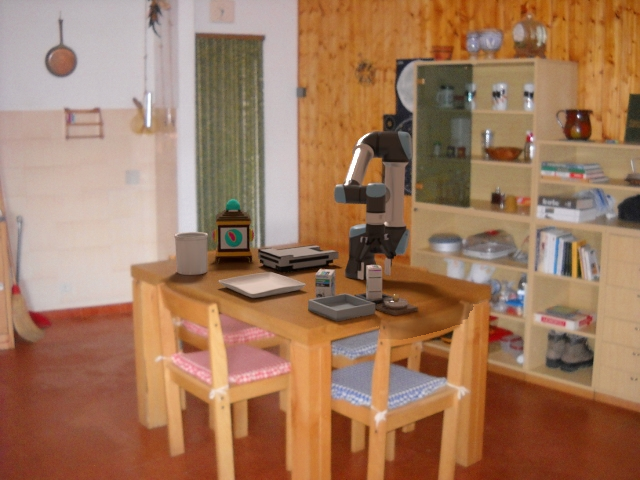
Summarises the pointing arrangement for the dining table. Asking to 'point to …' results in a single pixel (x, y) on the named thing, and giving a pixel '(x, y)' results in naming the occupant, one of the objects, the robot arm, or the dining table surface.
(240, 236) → the decorative lantern
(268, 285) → the square plate
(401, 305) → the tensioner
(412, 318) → the dining table surface
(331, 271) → the light bulb box
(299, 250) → the game console
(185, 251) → the utensil holder
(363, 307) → the tray
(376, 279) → the syrup box
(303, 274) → the dining table surface
